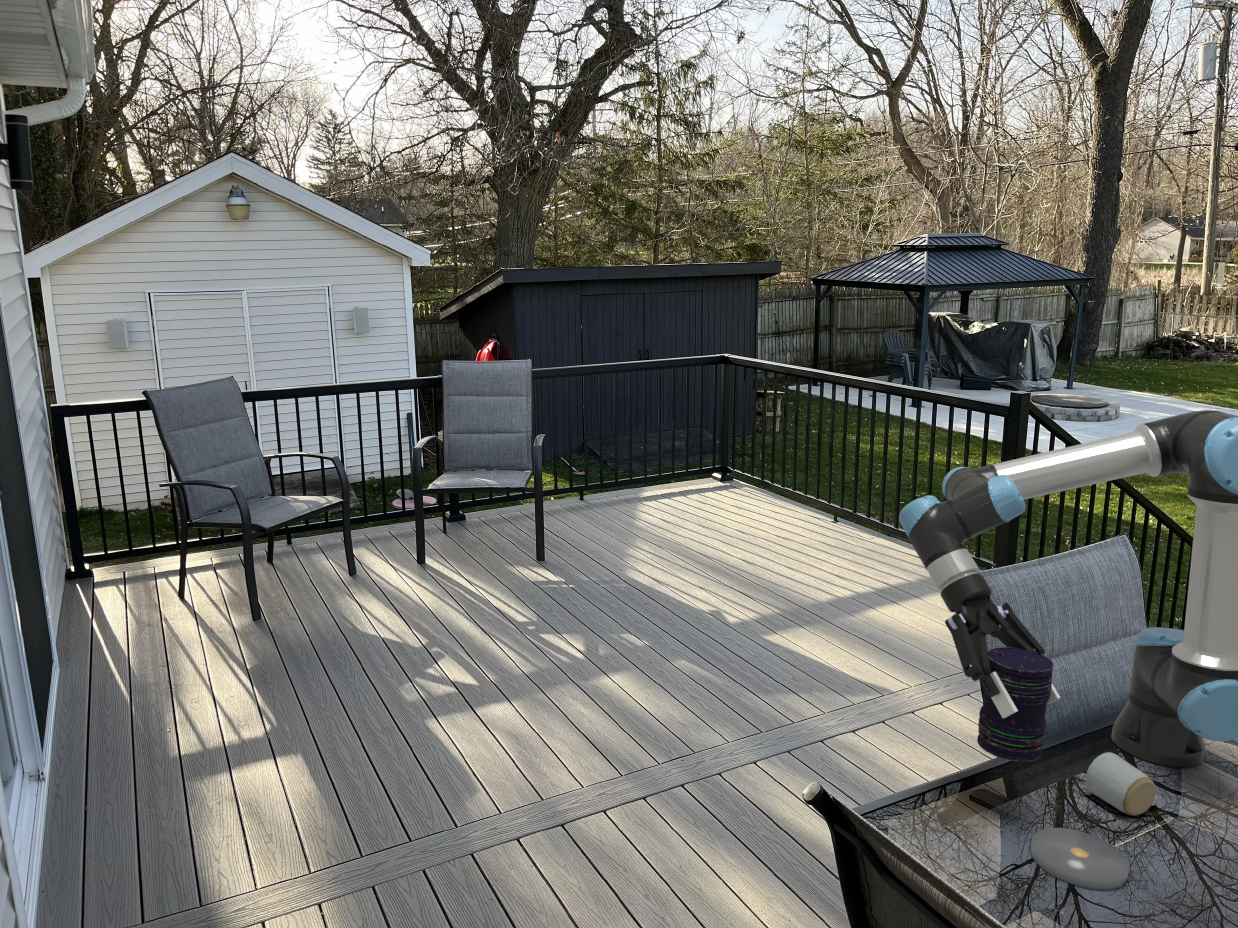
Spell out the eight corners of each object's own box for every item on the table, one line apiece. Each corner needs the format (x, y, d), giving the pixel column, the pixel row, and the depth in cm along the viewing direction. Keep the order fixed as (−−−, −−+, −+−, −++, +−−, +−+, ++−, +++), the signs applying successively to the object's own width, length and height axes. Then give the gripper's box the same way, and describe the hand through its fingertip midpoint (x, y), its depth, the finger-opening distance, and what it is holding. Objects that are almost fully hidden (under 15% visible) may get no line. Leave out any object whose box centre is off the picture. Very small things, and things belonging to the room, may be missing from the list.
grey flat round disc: (1123, 851, 140) (1125, 841, 139) (1131, 900, 128) (1133, 890, 128) (1030, 827, 145) (1032, 818, 145) (1030, 873, 133) (1031, 863, 133)
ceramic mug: (1123, 822, 148) (1131, 778, 146) (1081, 795, 155) (1088, 753, 154) (1169, 812, 152) (1177, 769, 150) (1125, 787, 159) (1133, 745, 158)
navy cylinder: (1046, 742, 150) (1057, 656, 147) (1039, 768, 141) (1051, 676, 138) (981, 726, 154) (991, 642, 152) (971, 750, 146) (981, 661, 143)
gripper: (988, 584, 163) (1058, 702, 152) (898, 602, 151) (968, 731, 141) (1018, 563, 157) (1093, 684, 147) (927, 580, 146) (1002, 713, 135)
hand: (1032, 707), depth 144 cm, fingers closed on navy cylinder, 10 cm apart
